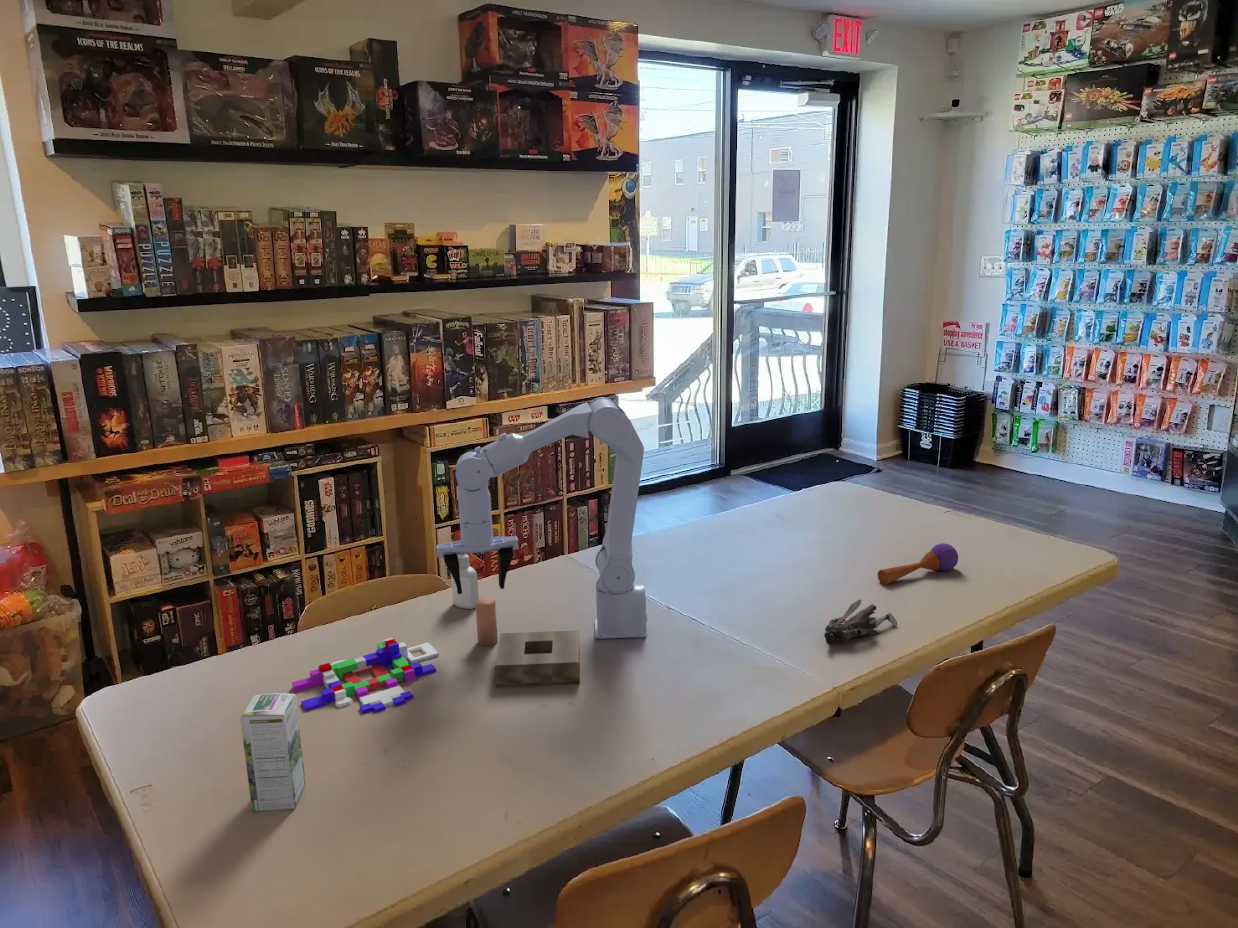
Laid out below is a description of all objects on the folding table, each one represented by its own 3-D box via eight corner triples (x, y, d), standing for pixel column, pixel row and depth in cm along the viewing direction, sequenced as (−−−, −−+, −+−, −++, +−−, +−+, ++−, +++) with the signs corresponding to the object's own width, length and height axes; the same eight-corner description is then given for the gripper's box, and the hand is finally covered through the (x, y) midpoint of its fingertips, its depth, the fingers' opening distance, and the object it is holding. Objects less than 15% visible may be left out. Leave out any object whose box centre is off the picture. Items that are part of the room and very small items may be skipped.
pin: (498, 637, 169) (496, 597, 167) (496, 645, 166) (494, 605, 164) (479, 637, 169) (476, 598, 167) (477, 646, 166) (474, 606, 164)
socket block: (579, 650, 163) (578, 630, 162) (579, 683, 152) (579, 661, 151) (501, 653, 163) (500, 633, 162) (496, 686, 151) (495, 665, 150)
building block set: (318, 733, 140) (314, 707, 138) (285, 680, 156) (282, 656, 155) (467, 686, 153) (465, 662, 151) (422, 641, 169) (420, 619, 168)
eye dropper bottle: (460, 612, 180) (456, 556, 177) (451, 602, 185) (447, 547, 182) (481, 607, 182) (477, 552, 179) (471, 597, 187) (467, 543, 184)
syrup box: (264, 786, 126) (250, 693, 122) (307, 784, 126) (295, 691, 122) (251, 812, 120) (237, 716, 116) (297, 809, 121) (284, 713, 117)
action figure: (863, 619, 176) (806, 645, 164) (863, 589, 175) (806, 613, 163) (899, 629, 170) (844, 657, 158) (900, 598, 169) (844, 624, 157)
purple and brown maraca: (871, 561, 192) (941, 538, 200) (875, 588, 193) (945, 564, 201) (890, 565, 186) (962, 542, 194) (894, 593, 187) (965, 568, 195)
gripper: (512, 508, 167) (516, 576, 171) (433, 516, 164) (439, 585, 167) (518, 520, 161) (522, 590, 164) (435, 528, 157) (441, 600, 161)
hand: (480, 589), depth 165 cm, fingers open, 7 cm apart
